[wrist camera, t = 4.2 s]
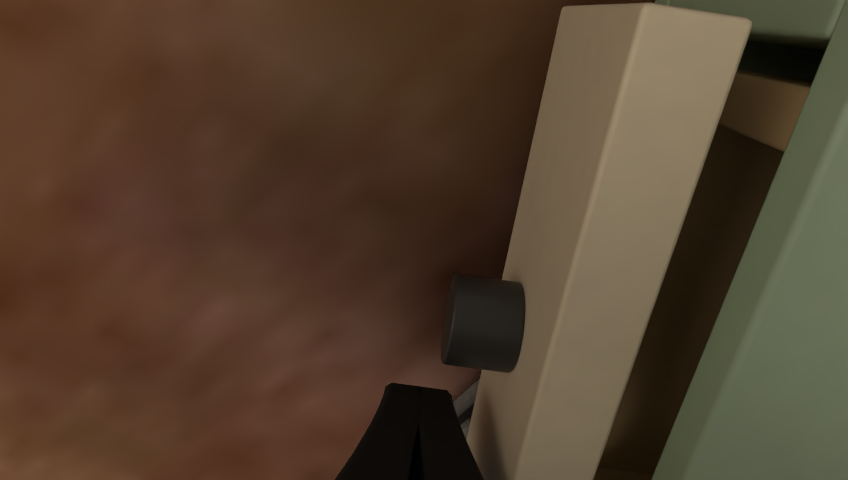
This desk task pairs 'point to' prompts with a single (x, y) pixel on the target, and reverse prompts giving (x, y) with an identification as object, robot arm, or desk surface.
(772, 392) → the cabinet
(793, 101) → the drawer
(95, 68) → the desk surface
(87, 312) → the desk surface
